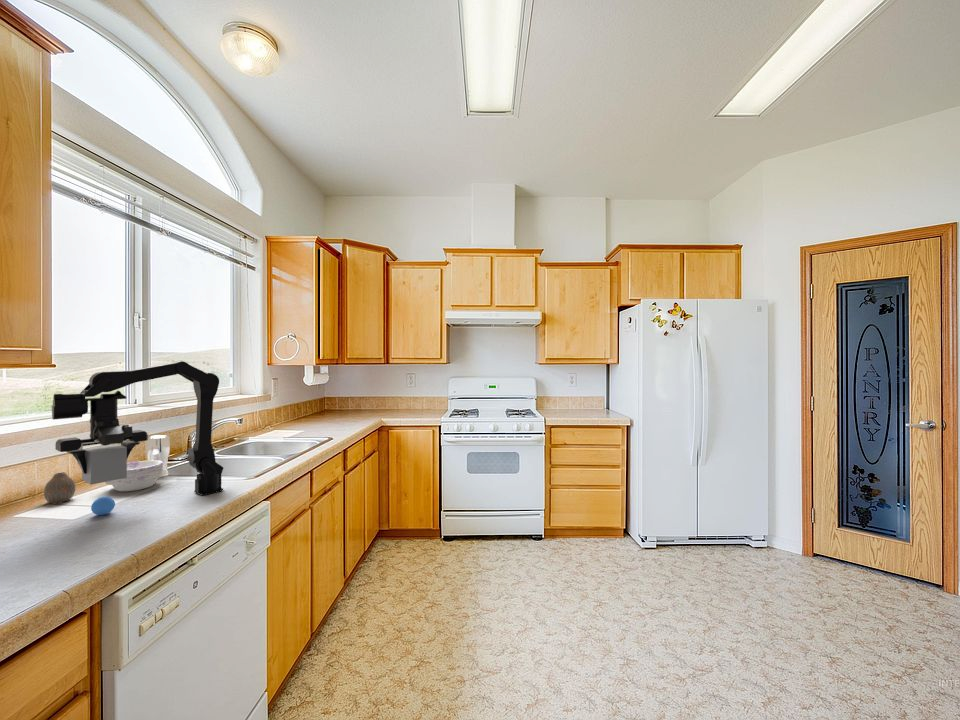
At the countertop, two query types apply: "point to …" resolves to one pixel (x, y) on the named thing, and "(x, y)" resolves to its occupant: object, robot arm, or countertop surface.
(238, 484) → the countertop surface
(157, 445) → the beer glass
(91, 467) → the gray rectangular prism
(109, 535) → the countertop surface
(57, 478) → the brown rounded lump
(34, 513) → the countertop surface
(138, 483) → the paper bowls
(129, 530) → the countertop surface
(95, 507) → the ball
